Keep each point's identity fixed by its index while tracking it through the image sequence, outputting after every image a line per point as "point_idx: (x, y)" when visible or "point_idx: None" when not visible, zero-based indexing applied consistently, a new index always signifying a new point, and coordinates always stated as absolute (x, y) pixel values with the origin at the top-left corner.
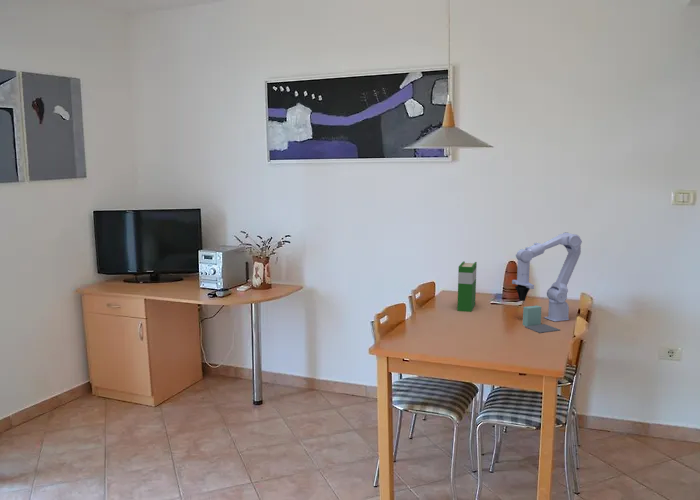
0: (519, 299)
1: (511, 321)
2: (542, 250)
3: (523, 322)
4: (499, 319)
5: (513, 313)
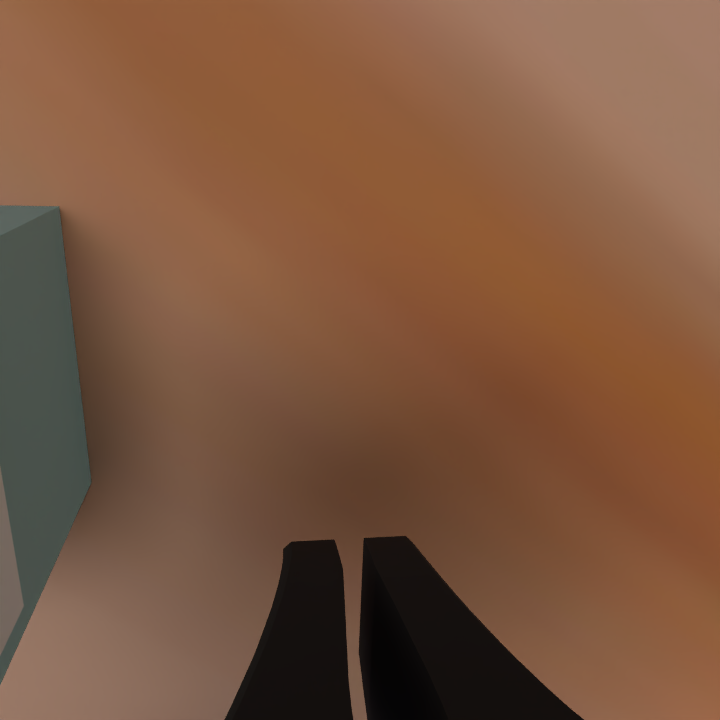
0: (402, 550)
1: (345, 166)
2: None
3: (19, 213)
4: (560, 43)
5: (707, 506)
